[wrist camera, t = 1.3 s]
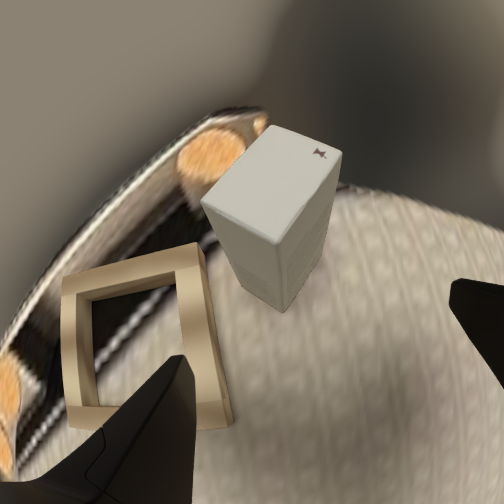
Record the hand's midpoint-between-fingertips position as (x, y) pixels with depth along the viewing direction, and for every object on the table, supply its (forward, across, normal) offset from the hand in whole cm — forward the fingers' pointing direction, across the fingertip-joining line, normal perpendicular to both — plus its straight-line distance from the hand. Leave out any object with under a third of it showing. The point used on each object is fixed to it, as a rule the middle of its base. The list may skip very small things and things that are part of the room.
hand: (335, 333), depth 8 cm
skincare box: (+15, 0, +4) cm, 15 cm away
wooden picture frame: (+12, +13, +7) cm, 19 cm away
